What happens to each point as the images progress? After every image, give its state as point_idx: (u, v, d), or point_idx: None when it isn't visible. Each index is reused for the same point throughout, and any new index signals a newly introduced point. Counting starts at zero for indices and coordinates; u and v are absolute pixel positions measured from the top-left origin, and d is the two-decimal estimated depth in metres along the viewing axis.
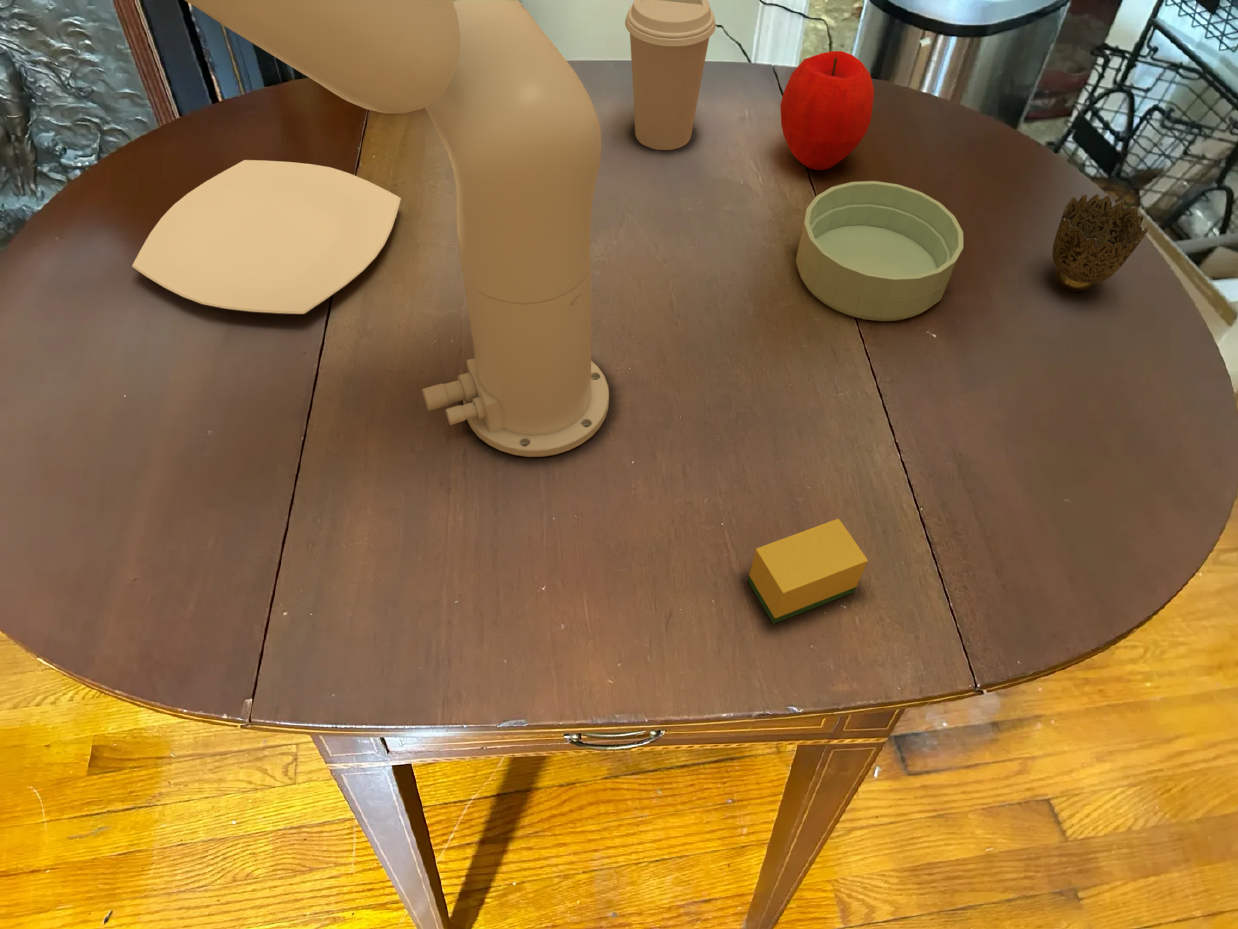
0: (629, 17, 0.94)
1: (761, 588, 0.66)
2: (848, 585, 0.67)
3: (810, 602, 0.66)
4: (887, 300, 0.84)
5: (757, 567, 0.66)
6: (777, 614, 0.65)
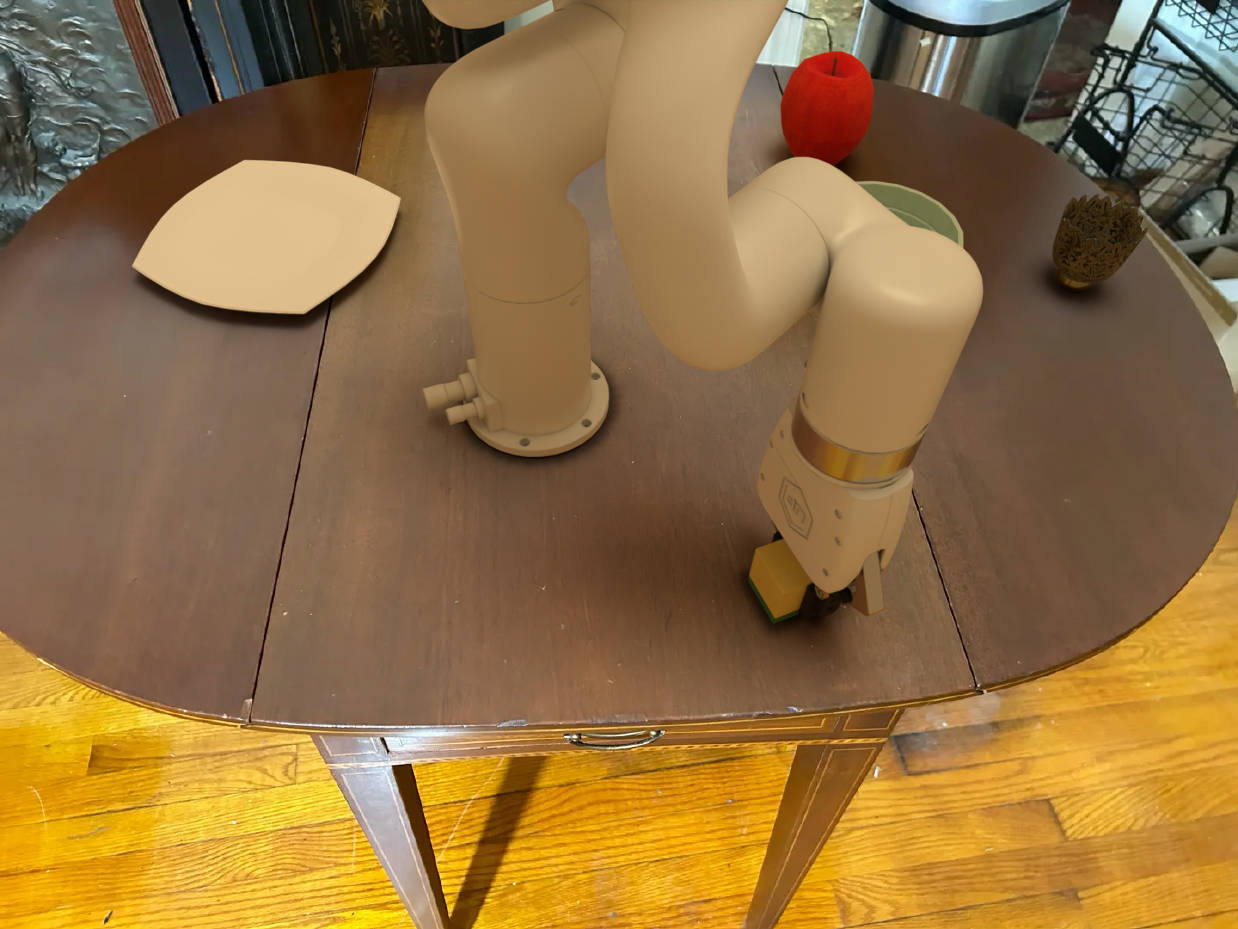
0: None
1: (761, 588, 0.66)
2: None
3: None
4: None
5: (757, 567, 0.66)
6: (777, 614, 0.65)
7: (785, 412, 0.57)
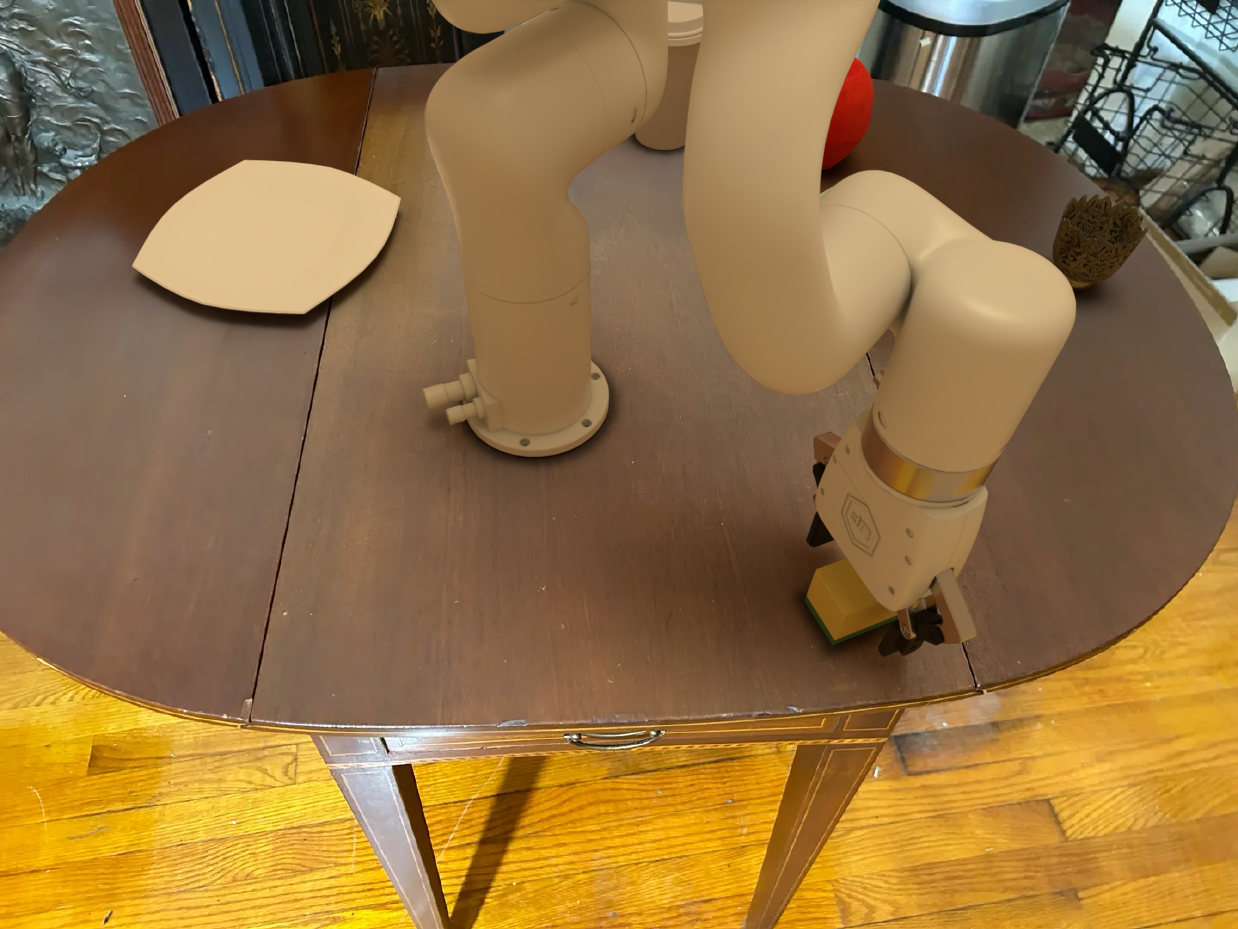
0: None
1: (820, 609, 0.65)
2: None
3: (870, 623, 0.65)
4: None
5: (816, 588, 0.65)
6: (837, 636, 0.64)
7: (852, 427, 0.56)
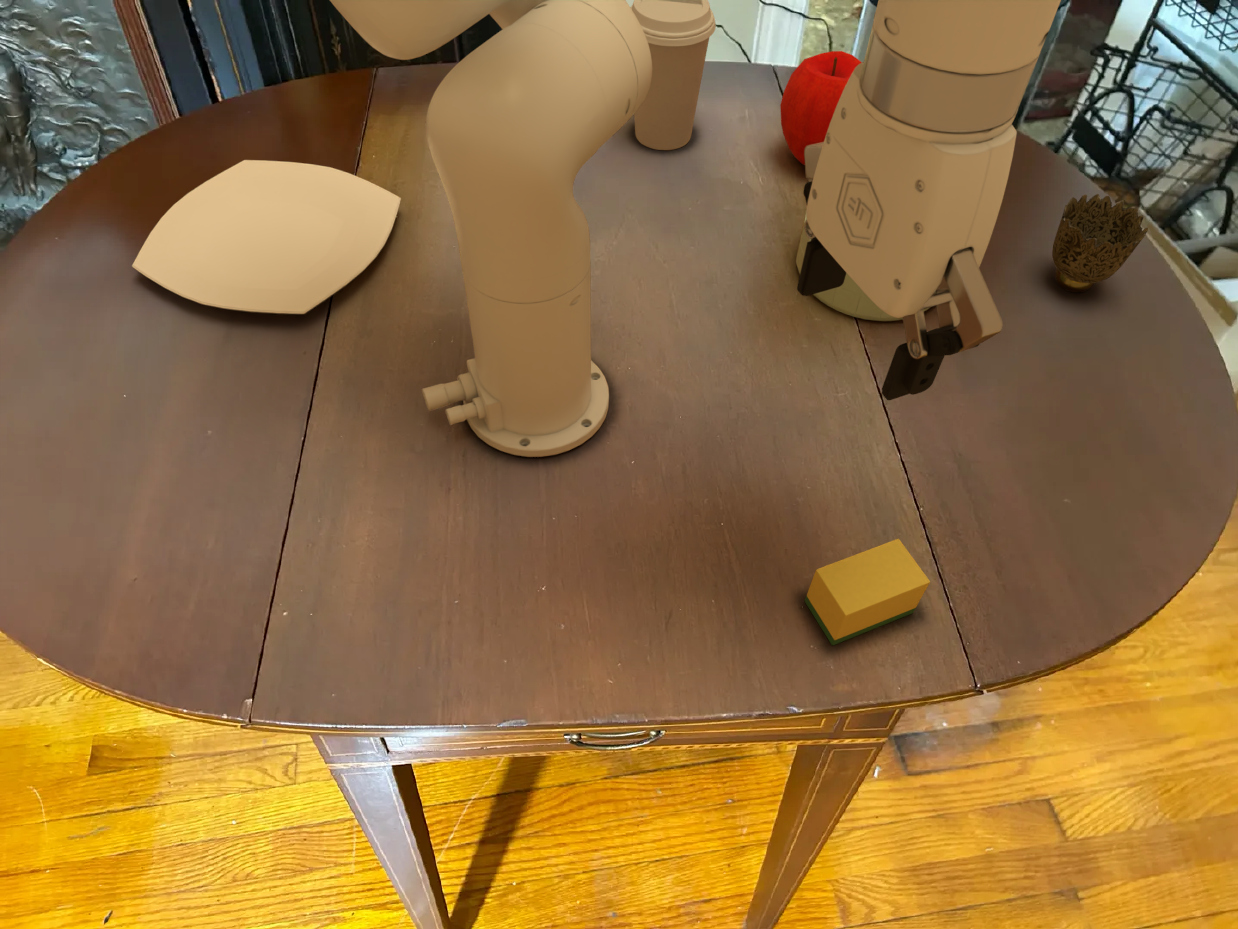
0: None
1: (820, 609, 0.65)
2: (908, 606, 0.66)
3: (869, 623, 0.65)
4: None
5: (816, 588, 0.65)
6: (837, 636, 0.64)
7: (849, 81, 0.46)
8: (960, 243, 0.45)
